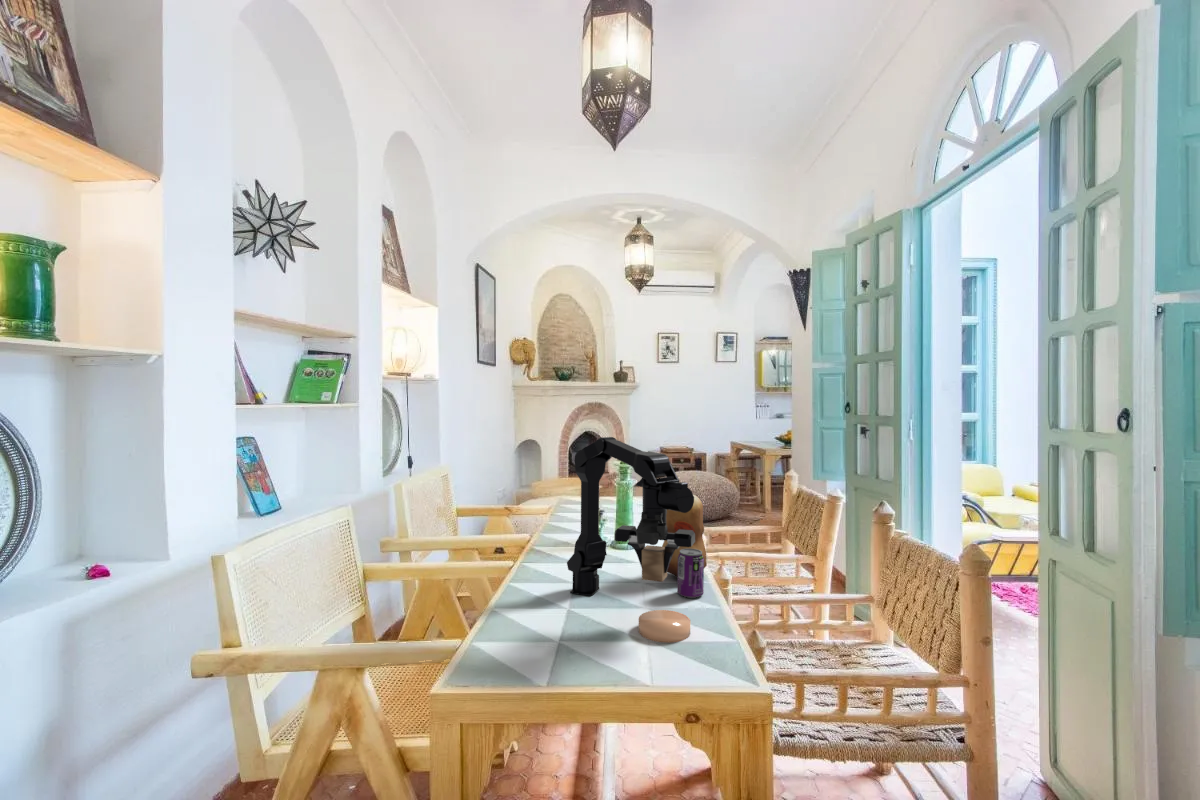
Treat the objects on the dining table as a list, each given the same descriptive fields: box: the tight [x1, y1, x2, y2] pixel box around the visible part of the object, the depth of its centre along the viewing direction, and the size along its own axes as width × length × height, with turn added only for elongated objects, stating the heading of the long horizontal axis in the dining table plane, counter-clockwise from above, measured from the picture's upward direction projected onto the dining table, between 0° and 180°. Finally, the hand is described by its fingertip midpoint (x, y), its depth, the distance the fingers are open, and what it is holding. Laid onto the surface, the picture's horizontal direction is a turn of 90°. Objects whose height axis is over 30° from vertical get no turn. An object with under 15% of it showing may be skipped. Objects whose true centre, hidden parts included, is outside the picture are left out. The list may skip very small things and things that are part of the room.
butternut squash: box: [661, 494, 708, 579], centre depth 173 cm, size 14×13×25 cm
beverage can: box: [676, 549, 705, 599], centre depth 158 cm, size 7×7×12 cm
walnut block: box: [641, 544, 668, 583], centre depth 139 cm, size 5×5×7 cm
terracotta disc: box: [638, 609, 691, 644], centre depth 134 cm, size 12×12×3 cm
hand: (654, 571), depth 139 cm, fingers closed on walnut block, 5 cm apart
